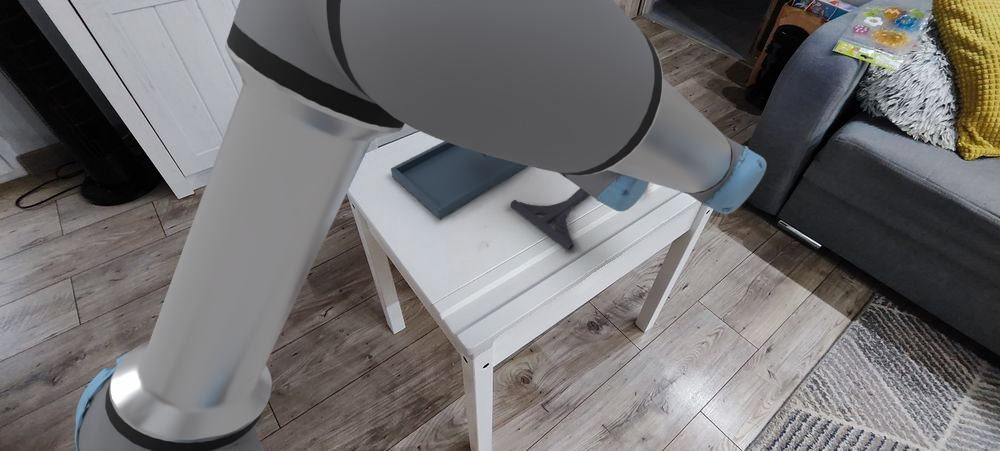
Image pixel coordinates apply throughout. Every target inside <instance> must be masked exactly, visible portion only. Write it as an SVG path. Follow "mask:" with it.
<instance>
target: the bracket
mask: <svg viewBox="0 0 1000 451" xmlns="http://www.w3.org/2000/svg"><path fill="white" fill-rule="evenodd" d="M590 196H591V195H590V194H588V193H587V192H586V191H584V190H583V189H581V188H580V187H579V189H577V190H576V192H573V194H572V195H571V196H570V197H569V198H567V199H566V200H564V201H561V202H558V203H555V204H549V205H536V204H530V203H525V202H522V201H518V200H517V199H513V200H512V201H511V202H510V208H512V209H513V210H514V211H515V212H517V213H518V214H520V216H522V217H523V218H524V219H526V220H527V221H528V222H530V223H531V224H532V225H533V226H535V227H536V228H538V229H539V230H540V231H541V232H543V233H544V234H545V235H547V237H549V238H550V239H552V240H553V241H555V242H556V243H557V244H558V245H560V246H561V247H562V248H563V249H565V250H566V251H567V252H570V251H571V250H572V249H573V248H574V246H575V243H574V240H573V239H572V237H571V235H570V233H569V230H568V223H567V220H568V217H569V214H570V212H571V211H572V209H573V208H575V207H576V206H577V205H578V204H580V203H581V202H582V201H584V200H586V199H587V198H589V197H590ZM538 215H543V216H542V217H539V216H538ZM554 222H555V224H556V226H555V228H554V227H552V226H551V224H552V223H554Z"/></svg>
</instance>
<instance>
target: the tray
mask: <svg viewBox="0 0 1000 451" xmlns="http://www.w3.org/2000/svg"><path fill="white" fill-rule="evenodd" d="M528 167H529V166H527V165H523V164H519V163H515V162H511V161H508V160H504V159H500V158H496V157H492V156H489V155H488V156H486V157H485V156H483V155H482V154H481V153H479V152H476V151H472V150H469V149H466V148H463V147H460V146H457V145H454V144H451V143H448V142H446V141H442V142H440V143H438V144H437V145H436V144H435V145H434V146H432V147H430V148H427V149H426V150H424V151H422V152H420V153H418V154H416V155H414V156H413V157H411V158H409V159H407V160H405V161H403V162H401V163H399V164H397V165H394V166H393V167H391V168H390V173H391V177H392V179H394V180H395V181H396V182H397V183H398V184H399V185H400V186H402V187H403V188H404V189H405V190H406V191H407V192H408V193H409V194H410V195H411V196H412V197H414V198H415V199H416V200H417V201H418V202H419V203H420V204H421V205H422V206H424V207H425V209H427V210H428V211H429V212H430V213H431V214H433V215H434V216H435V217H436V218H437V219H438V220H441V219H443V218H445V217H446V216H449V215H450V214H451V213H453V212H455V211H456V210H458V209H459V208H461V207H462V206H464V205H467V204H468V203H470V202H471V201H473V200H475V199H477V198H478V197H479V196H481V195H483V194H485V193H486V192H488V191H490V190H492V189H493V188H494V187H496V186H498V185H500V184H501V183H502V182H505V181H506V180H508V179H509V178H511V177H513V176H514V175H516V174H518V173H520V172H521V171H523V170H524V169H526V168H528Z"/></svg>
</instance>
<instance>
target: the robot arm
mask: <svg viewBox="0 0 1000 451" xmlns="http://www.w3.org/2000/svg"><path fill="white" fill-rule="evenodd" d="M224 49H225V50H226V53H227V54H228V56H229V59H230V60H231V61H232V63H233V65H234V67H235V69H236V71H237V72H238V74H239V76H240V79H241V82H242V86H241V88H240V92H239V94H238V97H237V100H236V102H235V106H234V107H233V110H232V113H231V116H230V119H229V122H228V124H227V127H226V130H225V132H224V135H223V137H222V140H221V144H220V146H219V149H218V152H217V154H216V157H215V160H214V162H213V166H212V168H211V170H210V174H209V177H208V180H207V182H206V185H205V187H204V189H203V190H204V191H203V193H202V196H201V198H200V201H199V203H198V207H197V209H196V213H195V215H194V218H193V221H192V224H191V226H190V229H189V231H188V234H187V237H186V239H185V241H184V242H185V243H184V245H183V247H182V248H183V249H182V251H181V253H180V256H179V258H178V262H177V264H176V267H175V270H174V273H173V275H172V279H171V281H170V284H169V286H168V290H167V292H166V295H165V298H164V300H163V303H162V306H161V308H160V311H159V314H158V317H157V320H156V322H155V325H154V328H153V331H152V333H151V336H150V339H149V340H147V341H145V342H142V343H141V344H139V345H137V346H135V347H134V348H133V349H131V350H130V351H128V352H126V353H125V354H123V355H122V356H120V357H118V358H117V359H116V365H115V366H113V367H105V368H103V369H102V370H101V371H100V372H99V373H97V375H96V376H95V377H94V378H93V379H92V380H91V381H90V383H89V384H88V385H87V387H86V388H85V389H84V391H83V393H82V395H81V396H80V400H79V401H78V404H77V407H76V411H75V412H76V413H75V428H74V444H75V449H76V451H265V449H264V447H263V444H262V442H261V440H260V438H259V436H258V433H257V426H258V423H259V421H260V419H261V418H262V415H263V413H264V411H265V409H266V407H267V404H268V403H269V401H270V398H271V394H272V387H273V386H272V385H273V380H272V375H271V372H270V369H269V368H268V366H267V362H268V361H269V359H270V356H271V354H272V352H273V350H274V347H275V345H276V343H277V341H278V339H279V337H280V335H281V333H282V331H283V328H284V326H285V325H286V322H287V321H288V319H289V316H290V314H291V312H292V310H293V307H294V305H295V303H296V301H297V299H298V297H299V295H300V293H301V291H302V289H303V286H304V284H305V282H306V280H307V278H308V277H309V273H310V272H311V269H312V267H313V265H314V264H315V261H316V259H317V257H318V255H319V252H320V250H321V248H322V246H323V244H324V242H325V240H326V238H327V236H328V233H329V232H330V229H331V228H332V225H333V223H334V221H335V219H336V216H337V214H338V213H339V211H340V208H341V206H342V204H343V202H344V200H345V198H346V196H347V193H348V191H349V189H350V187H351V185H352V183H353V181H354V179H355V177H356V174H357V172H358V171H359V168H360V166H361V164H362V162H363V159H364V158H365V155H366V153H367V151H368V149H369V147H370V145H371V143H372V142H374V141H375V140H376V139H377V138H381V137H384V136H389V135H392V134H395V133H398V132H401V131H402V130H403V128H404V126H405V125H406V126H409V127H411V128H412V129H414V130H416V131H418V132H421V133H424V134H425V135H427V136H430V137H431V138H432V137H433V138H434V139H437V140H440V141H442V142H444V141H446V142H448V143H451V144H454V145H457V146H460V147H463V148H466V149H469V150H472V151H476V152H479V153H482V154H485V155H489V156H492V157H496V158H500V159H504V160H508V161H511V162H515V163H519V164H523V165H527V166H528V167H530V168H531V167H532V168H535V169H539V170H543V171H548V172H553V173H557V174H559V175H560V176H562V177H564V178H565V179H567V180H569V182H571V183H573V184H574V185H575V186H577V187H578V188H579V189H580V188H581V189H583V190H584V191H586V192H587V193H588V194H590V195H589V196H591V197H593V198H594V199H595V200H596V201H597V202H600V203H601V204H603V205H605V206H607V208H608V207H609V208H610V209H612V210H614V211H616V212H620V213H621V212H625V211H628V210H629V209H631V208H632V207H633V206H635V205H636V203H637V202H639V200H640V199H641V198H642V196H643V195H644V194H645V192H646V190H647V189H648V187H649V184H655V185H657V186H660V187H664V188H667V189H671V190H674V191H677V192H680V193H683V194H687V195H688V196H690V197H692V198H693V199H695V200H696V201H698V202H699V203H701V204H702V205H703V206H705V207H708V208H710V209H711V210H713V211H715V212H717V213H719V214H722V215H728V214H731V213H734V212H735V211H736V210H738V209H739V208H740V207H741V206H742V205H743V204H744V203H745V202H746V201H747V200H748V198H749V197H750V196H751V195H752V193H753V192H754V191H755V189H756V187H758V185H759V184H760V182H761V180H762V179H763V177H764V175H765V173H766V170H767V161H766V159H765V158H764V157H763V156H762V155H760V154H758V153H756V152H755V151H752V150H751V149H749V147H748V146H746V145H743V144H740V143H738V142H736V141H734V140H733V139H731V138H729V137H728V136H727V135H725V134H724V133H723V131H720V130H719V128H717V127H716V125H715V124H713V123H712V122H711V121H710V120H709V119H708V118H707V117H705V116H704V115H703V114H702V113H701V112H700V111H699V110H698V109H697V108H696V107H695V106H694V105H693V104H692V103H691V102H690V101H688V100H687V99H686V98H685V97H684V96H683V95H682V94H681V93H680V92H679V91H678V90H677V89H675V87H673V86H672V84H670V83H669V82H668V81H667V80H666V79H665V78H664V71H663V66H662V62H661V59H660V56H659V53H658V51H657V49H656V47H655V45H654V44H653V42H652V41H651V39H650V38H649V37H648V36H647V35H646V34H645V33H644V31H643V30H642V29H641V28H640V27H639V26H638V25H637V24H636V23H635V22H634V21H633V19H632V18H630V16H628V15H627V13H626V12H625V11H624V10H623V9H622V8H621V7H620V6H619V5H618V4H617V3H616V1H614V0H239V2H238V5H237V8H236V10H235V14H234V17H233V21H232V24H231V27H230V30H229V32H228V35H227V38H226V41H225V45H224ZM649 182H650V183H649Z"/></svg>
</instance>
